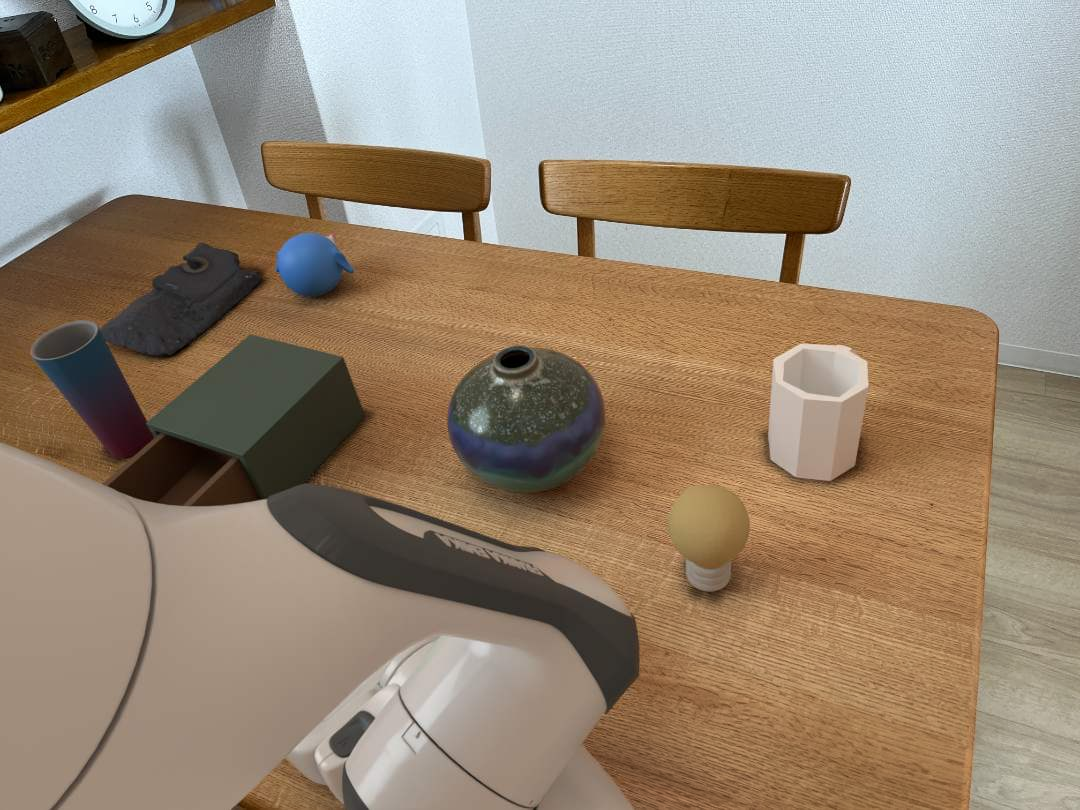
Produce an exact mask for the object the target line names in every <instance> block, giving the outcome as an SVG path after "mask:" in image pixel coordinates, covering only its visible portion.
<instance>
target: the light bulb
mask: <svg viewBox="0 0 1080 810" xmlns="http://www.w3.org/2000/svg"><path fill="white" fill-rule="evenodd" d="M750 526H751V522H750V517H749V513H748V510H747V507H746V506H745V504H744V502H743V500H742V499H741V498H740V497H739V496H738V495H737V494H736V493H734V492H733V491H731V490H729V489H727V488H725V487H722V486H718V485H713V484H698V485H693V486H691V487H689V488H687V489H685V490H684V491H682V492H681V494H679V496H677V498H676V499H675V501H674V502H673V504H672V506H671V508H670V511H669V514H668V520H667V532H668V536H669V539H670V541H671V543H672V545H673V546H674V548H675V550H676V551H677V552H678V553H679V554H680V555H681V557H683V558H685V574H686V578H687V580H688V582H689V583H690V584H691V585H692V586H693V587H694V588H695V589H697V590H700V591H703V592H709V593H711V592H717V591H720V590H722V589H723V588H725V587H726V586H727V585H728V583H729V582H730V580H731V577H732V560H734V559H735V558H737V556H739V555H740V553H741V552H742V551H743V549H744V548H745V546H746V544H747V543H748V539H749V537H750V530H751V527H750Z"/></svg>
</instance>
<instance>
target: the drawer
mask: <svg viewBox="0 0 1080 810" xmlns="http://www.w3.org/2000/svg"><path fill="white" fill-rule="evenodd" d="M102 484H103V485H105V486H108V487H110V488H112V489H114V490H116V491H118V492H120V493H123V494H126V495H128V496H130V497H133V498H136V499H140V500H144V501H148V502H153V503H159V504H166V505H175V506H223V505H231V504H239V503H246V502H253V501H258V500H262V499H261V497H260V496H259V494H258V492H257V490H256V488H255V486H254V484H253V483H252V481H251V479H250V477H249V475H248V473H247V472H246V470H245V468H244V466H243V464H242V462H241V461H240V459H238V458H235V457H232V456H229V455H226V454H223V453H220V452H217V451H214V450H211V449H208V448H205V447H202V446H199V445H196V444H193V443H190V442H187V441H184V440H181V439H178V438H175V437H172V436H169V435H166V434H163V433H160V434H159V435H158V436H156V437H153V439H152V441H151V442H150V443H148V444H147V445H146V446H145V447H144V448H143V449H141V450H140V451H139V452H138V453H137V454H135V455H133V456H131V458H130V459H129V460H128V461H126V462H125V463H124V464H123V465H122V466H120V468H118V469H117V470H116V471H115V472H114V473H112V475H110V476H109V477H108V478H107V479H106V480H105V481H103V482H102Z"/></svg>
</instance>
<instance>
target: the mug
mask: <svg viewBox="0 0 1080 810" xmlns="http://www.w3.org/2000/svg"><path fill="white" fill-rule="evenodd" d="M868 368H869V367H868V361H867V360H865V359H864V358H862V357H860V355H859V354H858V353H857V352H856V350H854V349H853V348H852V347H849V346H847V345H842V344H837V345H835V344H818V343H799V344H798V345H796V346H794V347H792V348H790V349H788V350H787V351H785V352H784V353H781V354H780V355H778V356H776V357H774V358H773V361H772V373H771V374H772V375H771V387H770V403H769V404H770V405H769V415H768V417H769V418H768V429H767V430H768V432H767V439H768V448H769V460H770V461H771V462H773V463H775V465H777V466H778V467H780V468H782V469H783V470H784V471H786V472H787V473H788V474H790V475H791V476H793V477H794V478H797V479H798V478H799V479H806V480H815V481H816V480H817V481H827V482H831V481H833V480H834V479H836V478H838V477H839V476H841V475H842V474H844V473H846V472H847V471H850V470H851V469H852V468H854V467H855V466H856V461H857V456H858V451H859V443H860V438H861V432H862V427H863V421H864V416H865V411H866V410H865V409H866V404H867V398H868V392H869V371H868Z"/></svg>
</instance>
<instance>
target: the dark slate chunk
mask: <svg viewBox="0 0 1080 810" xmlns="http://www.w3.org/2000/svg"><path fill="white" fill-rule="evenodd" d="M239 258H240V257H239V254H238V253H236V252H234V251H232V250H229V249H224V248H219V247H214V246H212V245H210V244H208V243H205V242H199V243H198V244H196V246H195V248H193V249H191V251H190V252H188V254H185V255H183V256H182V260H183V261H186V262H182V263H180V264H178V265H171V266H169V267H168V268H167V270H166V271H165V272H164V273H162V274H158V275H156V277H154V278H153V279H152V282H151V286H152V289H151V290H150V291H149V292H148V293H147V294H143V295H141V296H139V297H138V298H135V299H134V300H133V301H132V302H131V303H130V304H129V305H128V306H127V307H126V308H124V309H122V310H121V312H119V314H117V316H115V317H114V318H111V319H109V320H108V321H107V322H106V323H105V324H103V325H102V326H101V327H99V330H100V331H101V333H102V335H103V337H104V339H105V341H106V343H109V344H112V345H114V346H116V347H121V348H125V349H126V348H127V349H129V350H131V351H133V352H135V353H139V354H140V353H142V354H145V355H149V356H151V357H156V356H158V357H163V356H172V355H174V354H175V353H177V351H180V350H181V349H183V348H184V347H186V346H188V345H190V344H191V342H193V341H195V340H196V339H197V338H198V337H199V336H201V335H202V334H203V333H204V332H205V331H207V330H209V329H210V328H211V327H212V326H213V325H214V324H215V323H216V322H218V321H219V320H221V318H222V317H224V315H226V314H227V313H228V312H229V311H230V310H231V309H233V308H234V306H235V305H237V304H238V303H239V302H240V301H241V300H242V299H243V298H244V297H245V296H246V295H248V294H249V293H250V292H251V291H252V290H253V289H254V288H255V287H256V286H257V285H258V284H259V283H260V281H261V275H259V274H260V271H259V270H255V269H254V270H253V269H241V267H240V264H241V262H240V261H241V260H240V259H239Z"/></svg>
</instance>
